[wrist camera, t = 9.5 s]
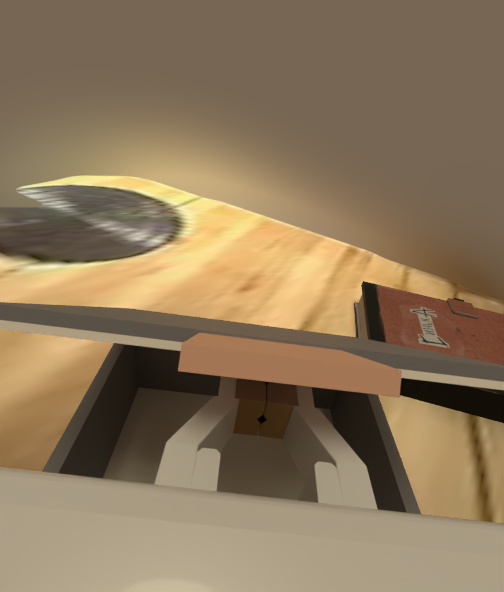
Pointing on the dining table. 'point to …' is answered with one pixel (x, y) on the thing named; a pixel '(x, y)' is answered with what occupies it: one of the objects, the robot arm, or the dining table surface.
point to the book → (436, 342)
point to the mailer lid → (257, 349)
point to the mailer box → (238, 450)
